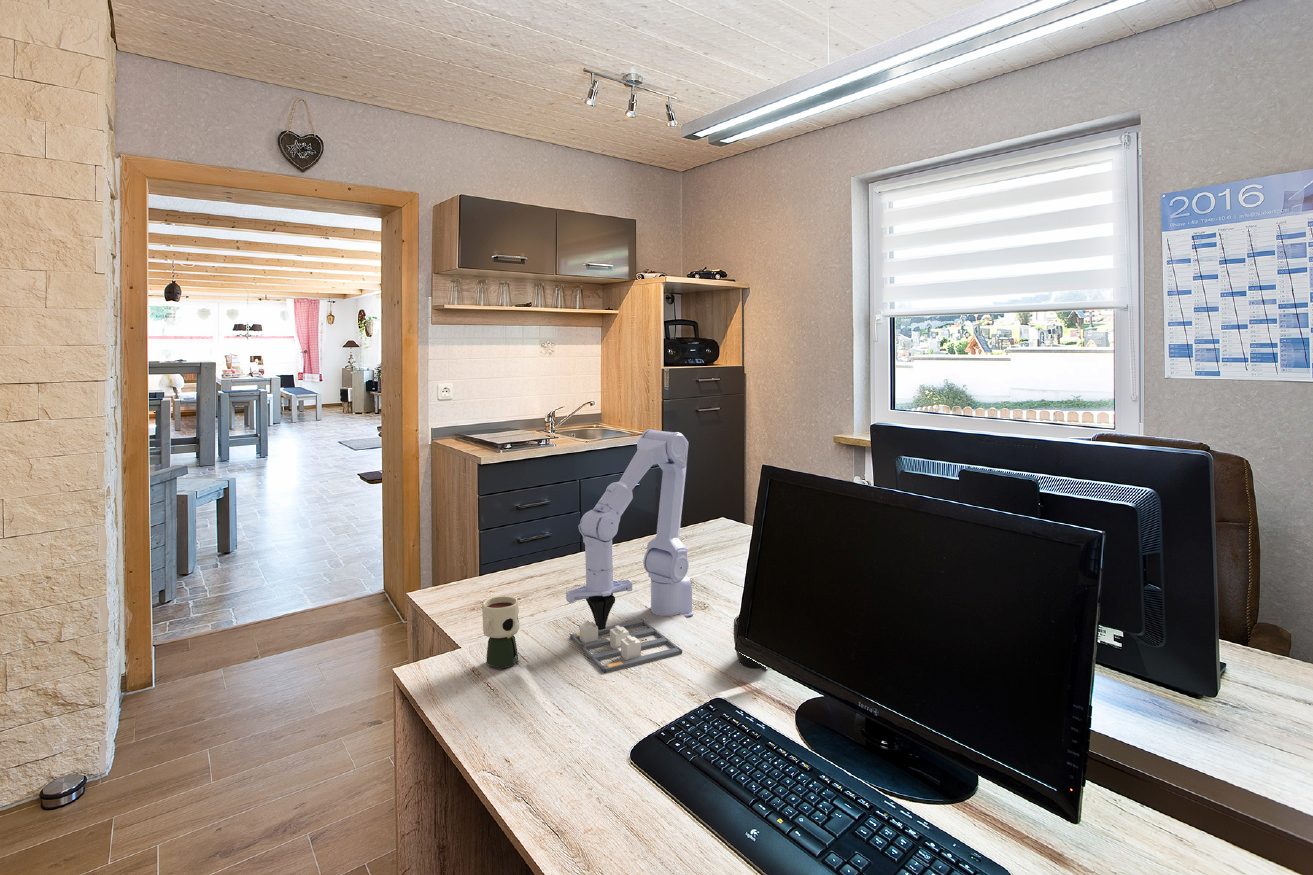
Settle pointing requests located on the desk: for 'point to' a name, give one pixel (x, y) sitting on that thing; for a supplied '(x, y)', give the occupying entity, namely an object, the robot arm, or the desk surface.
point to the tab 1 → (588, 632)
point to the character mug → (501, 630)
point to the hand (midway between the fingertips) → (600, 627)
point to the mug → (743, 659)
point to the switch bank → (617, 652)
